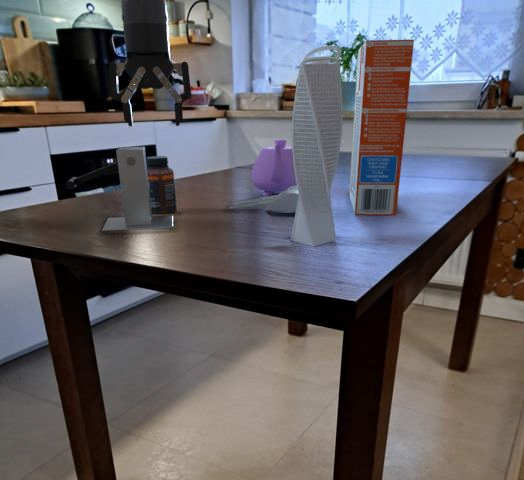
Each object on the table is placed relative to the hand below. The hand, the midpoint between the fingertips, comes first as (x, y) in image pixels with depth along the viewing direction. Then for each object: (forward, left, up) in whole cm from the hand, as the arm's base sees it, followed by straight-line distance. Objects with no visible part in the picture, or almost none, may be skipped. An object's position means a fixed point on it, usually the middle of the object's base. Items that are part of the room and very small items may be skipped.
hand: (154, 125), depth 96 cm
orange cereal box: (+45, +4, -17) cm, 48 cm away
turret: (+23, 0, -17) cm, 29 cm away
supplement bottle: (0, 0, -17) cm, 17 cm away
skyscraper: (+25, -24, -17) cm, 39 cm away
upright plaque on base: (-4, -10, -17) cm, 20 cm away
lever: (-8, -10, -8) cm, 15 cm away
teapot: (+28, +22, -17) cm, 40 cm away
